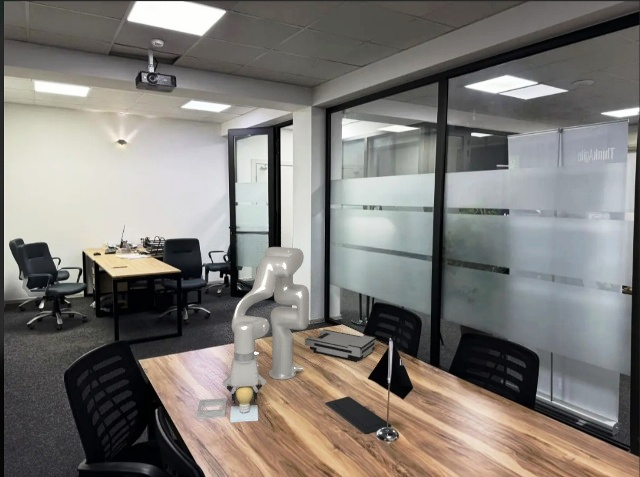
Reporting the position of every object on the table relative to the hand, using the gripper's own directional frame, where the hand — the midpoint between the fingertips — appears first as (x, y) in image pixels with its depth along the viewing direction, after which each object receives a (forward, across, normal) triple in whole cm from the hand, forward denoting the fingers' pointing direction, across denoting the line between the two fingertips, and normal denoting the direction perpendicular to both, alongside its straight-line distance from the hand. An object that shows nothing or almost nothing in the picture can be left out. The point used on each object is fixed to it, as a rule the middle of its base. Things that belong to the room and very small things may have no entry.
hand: (244, 401), depth 159 cm
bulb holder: (+5, +12, -4) cm, 14 cm away
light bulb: (+4, 0, 0) cm, 4 cm away
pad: (+5, 0, 0) cm, 5 cm away
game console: (+6, -50, -62) cm, 79 cm away
